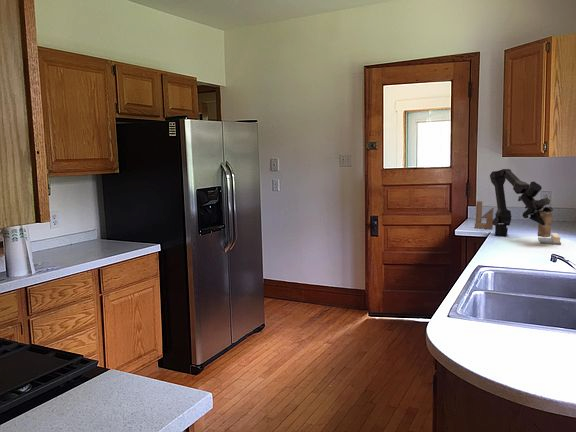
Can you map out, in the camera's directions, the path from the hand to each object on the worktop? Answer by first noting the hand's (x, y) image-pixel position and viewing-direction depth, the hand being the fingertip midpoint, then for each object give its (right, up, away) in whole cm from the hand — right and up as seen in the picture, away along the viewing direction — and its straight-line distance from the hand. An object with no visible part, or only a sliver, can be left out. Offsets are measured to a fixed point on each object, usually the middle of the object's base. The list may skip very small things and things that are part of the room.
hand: (547, 224), depth 267 cm
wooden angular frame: (-10, -4, +62) cm, 63 cm away
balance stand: (+8, -10, +13) cm, 18 cm away
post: (-1, -6, +2) cm, 7 cm away
